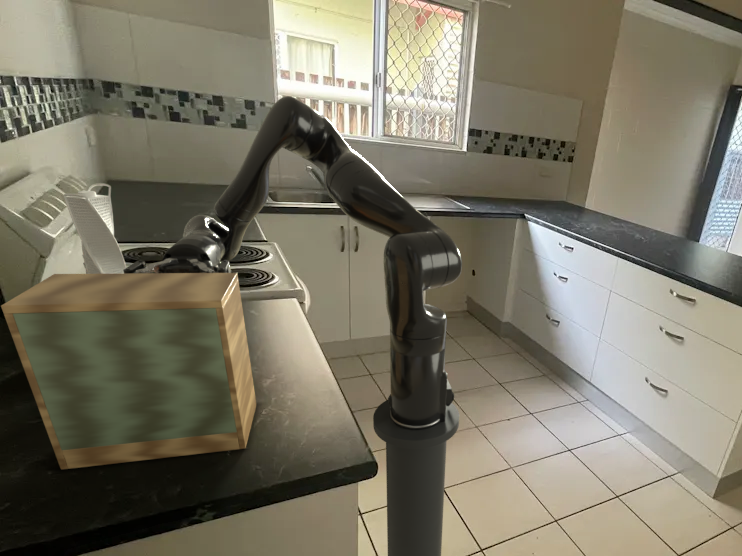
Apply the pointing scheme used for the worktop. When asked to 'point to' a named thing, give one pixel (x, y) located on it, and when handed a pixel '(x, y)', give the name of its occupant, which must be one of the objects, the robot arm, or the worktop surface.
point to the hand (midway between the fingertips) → (168, 285)
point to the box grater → (96, 231)
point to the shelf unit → (136, 364)
